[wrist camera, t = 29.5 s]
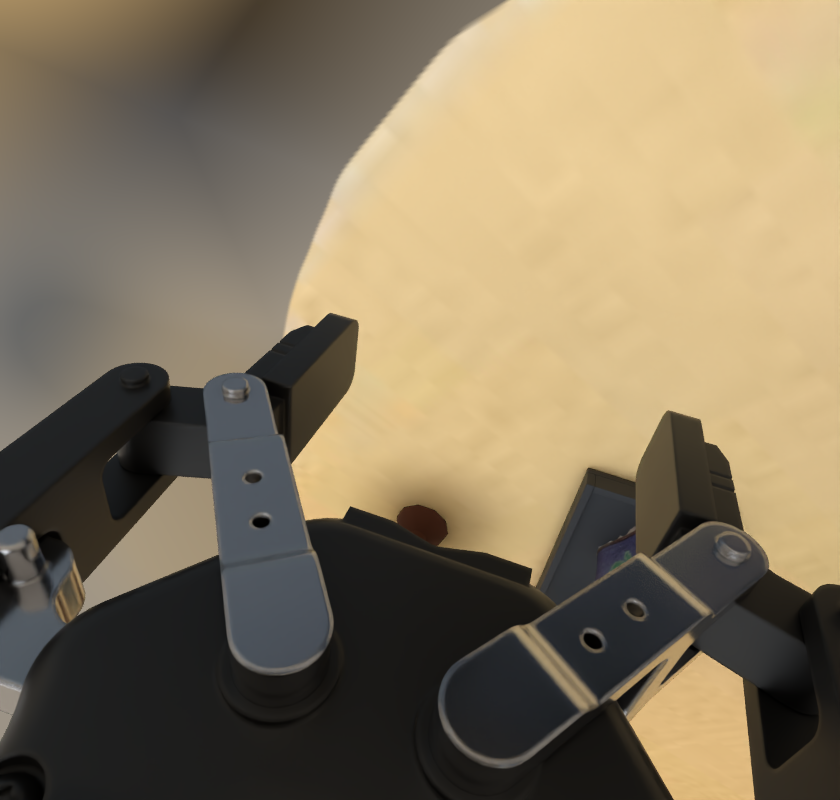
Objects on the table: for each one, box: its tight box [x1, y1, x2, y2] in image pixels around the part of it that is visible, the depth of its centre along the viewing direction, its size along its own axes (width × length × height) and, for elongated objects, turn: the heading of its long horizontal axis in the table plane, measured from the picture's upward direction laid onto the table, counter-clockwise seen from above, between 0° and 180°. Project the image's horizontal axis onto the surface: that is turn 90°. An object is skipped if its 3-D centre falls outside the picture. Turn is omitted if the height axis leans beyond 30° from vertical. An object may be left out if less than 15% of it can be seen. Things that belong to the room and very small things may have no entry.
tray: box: [536, 468, 636, 605], centre depth 55 cm, size 12×26×2 cm, turn 171°
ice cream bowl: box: [397, 505, 448, 546], centre depth 53 cm, size 11×11×15 cm
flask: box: [595, 526, 636, 581], centre depth 47 cm, size 9×3×11 cm, turn 143°
